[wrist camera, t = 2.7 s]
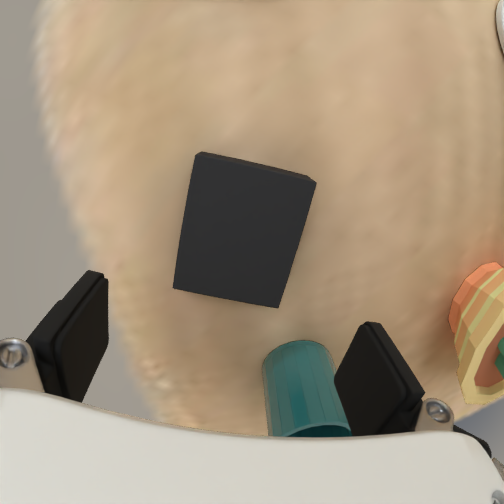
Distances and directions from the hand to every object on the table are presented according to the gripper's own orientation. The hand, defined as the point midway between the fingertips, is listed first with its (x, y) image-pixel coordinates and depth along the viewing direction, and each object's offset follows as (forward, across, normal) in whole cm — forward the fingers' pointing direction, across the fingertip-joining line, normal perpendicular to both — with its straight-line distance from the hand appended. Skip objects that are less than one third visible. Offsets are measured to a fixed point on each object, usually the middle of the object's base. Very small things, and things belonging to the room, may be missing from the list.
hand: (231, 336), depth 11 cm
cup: (+12, -8, +12) cm, 19 cm away
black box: (+12, 0, 0) cm, 12 cm away
